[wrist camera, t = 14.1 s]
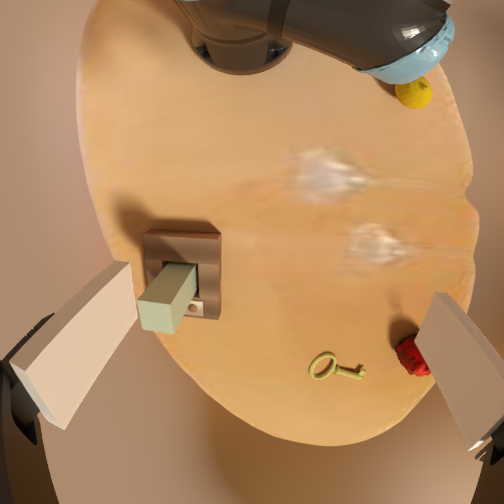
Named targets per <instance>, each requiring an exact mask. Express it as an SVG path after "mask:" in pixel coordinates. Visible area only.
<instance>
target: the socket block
mask: <svg viewBox="0 0 504 504" xmlns="http://www.w3.org/2000/svg"><path fill="white" fill-rule="evenodd" d="M143 245H144V256H145V266H146V274H147V282H148V286H149V285H150V284H151V283H152V281H153V280H154V279H155V278H156V277H157V276H158V274H159V273H160V272H161V271H162V270H163V269H164V267H165V266H166V265H167V264H168V263H169V261H173V262H185V263H198V272H199V289H197V290H196V292H195V294H194V296H193V298H192V300H191V302H190V304H189V306H188V308H187V310H186V312H185V314H184V316H186V317H194V318H203V319H212V320H218V319H219V316H220V313H221V233H203V232H185V231H166V230H149V231H148V232H146V233H145V234H144V235H143Z"/></svg>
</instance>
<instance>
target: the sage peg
mask: <svg viewBox="0 0 504 504" xmlns="http://www.w3.org/2000/svg"><path fill="white" fill-rule="evenodd" d="M198 286H199V272H198V263H185V262H173V261H170V262H169V263H168V264H167V265H166V266H165V267H164V269H163V270H162V271H161V272H160V273H159V274H158V276H157V277H156V278H155V279H154V280H153V281H152V283H151V284H150V285H149V286H148V287H147V289H146V290H145V291H144V292H143V293H142V295H141V296H140V297H139V298H138V299H137V303H138V308H139V314H140V318H141V324H142V329H144V330H150V331H156V332H162V333H168V334H175V332H176V330H177V328H178V326H179V324H180V322H181V320H182V318H183V316H184V314H185V312H186V310H187V308H188V306H189V304H190V302H191V300H192V298H193V296H194V294H195V292H196V290H197V288H198Z"/></svg>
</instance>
